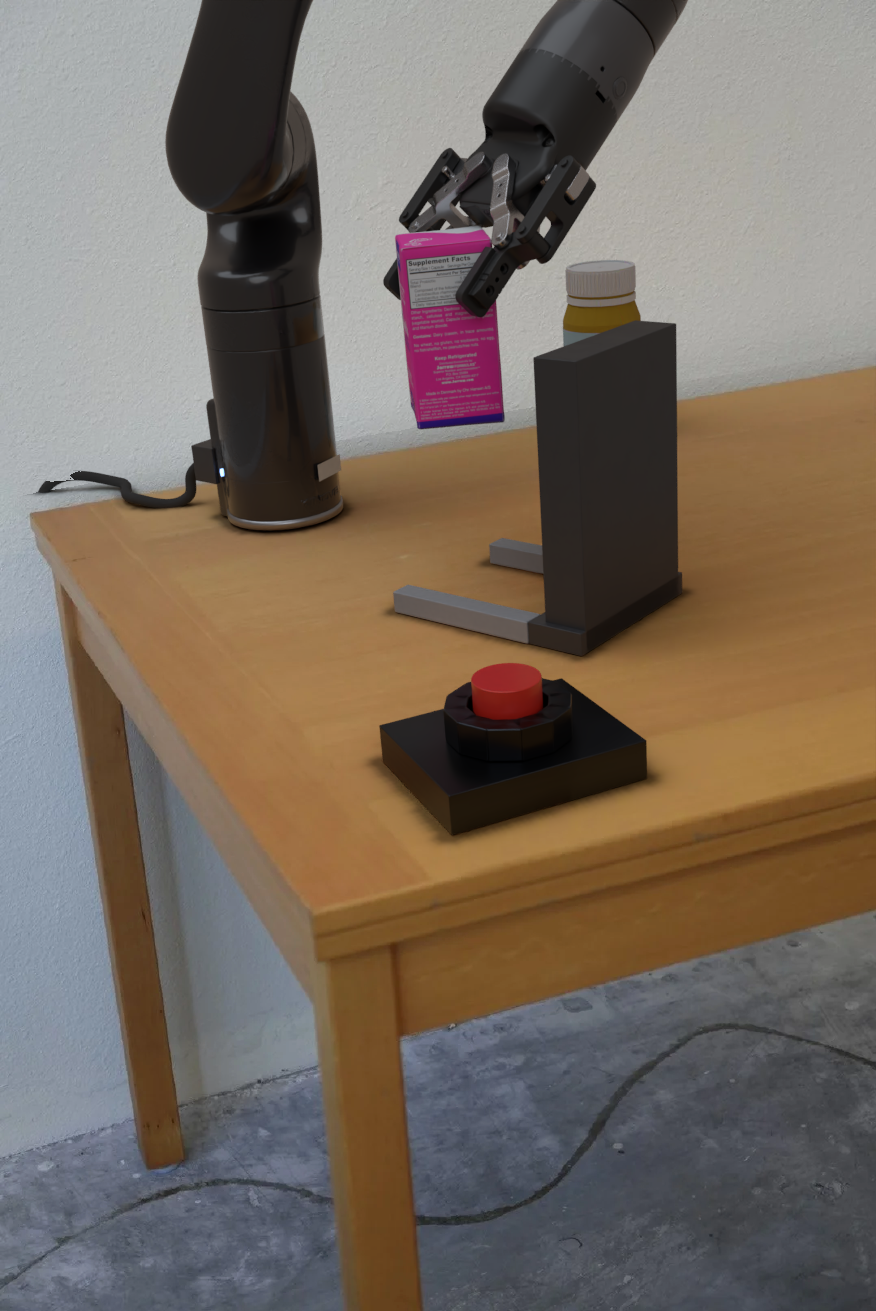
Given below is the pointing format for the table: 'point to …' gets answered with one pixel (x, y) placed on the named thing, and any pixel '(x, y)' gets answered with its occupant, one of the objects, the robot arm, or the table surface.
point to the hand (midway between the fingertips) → (429, 300)
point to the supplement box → (447, 331)
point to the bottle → (598, 298)
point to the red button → (507, 691)
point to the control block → (511, 757)
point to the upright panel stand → (591, 497)
